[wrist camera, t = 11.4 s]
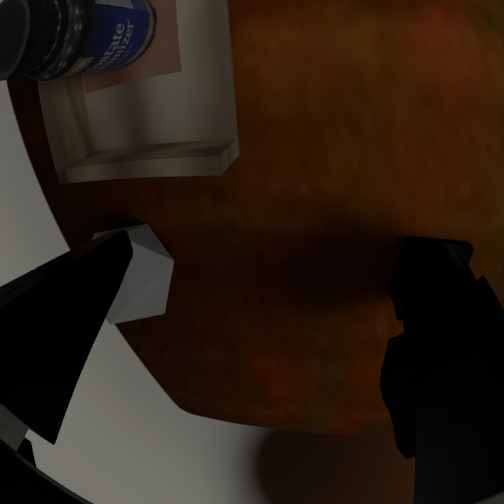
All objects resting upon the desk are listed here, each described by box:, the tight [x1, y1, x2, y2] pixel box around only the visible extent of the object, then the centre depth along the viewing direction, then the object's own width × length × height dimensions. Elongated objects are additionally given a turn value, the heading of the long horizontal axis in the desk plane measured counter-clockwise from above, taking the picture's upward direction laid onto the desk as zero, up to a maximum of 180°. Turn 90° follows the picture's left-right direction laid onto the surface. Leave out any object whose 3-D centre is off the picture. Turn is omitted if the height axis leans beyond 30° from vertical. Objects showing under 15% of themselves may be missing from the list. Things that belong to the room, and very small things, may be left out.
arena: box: [37, 0, 240, 184], centre depth 16 cm, size 14×16×4 cm
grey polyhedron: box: [92, 224, 174, 324], centre depth 25 cm, size 8×9×10 cm
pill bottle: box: [0, 0, 157, 81], centre depth 12 cm, size 6×6×11 cm
